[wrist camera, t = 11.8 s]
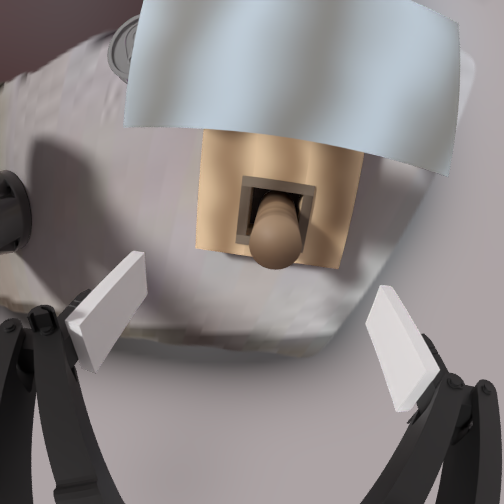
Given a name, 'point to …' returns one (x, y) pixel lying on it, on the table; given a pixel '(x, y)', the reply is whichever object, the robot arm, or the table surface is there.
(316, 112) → the socket station
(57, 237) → the table surface
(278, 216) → the peg
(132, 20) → the beverage can
